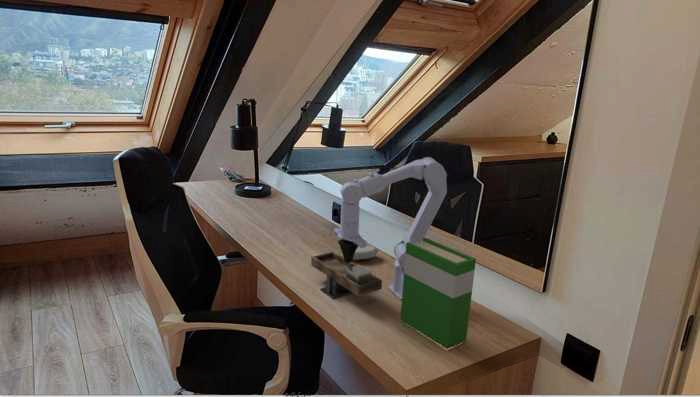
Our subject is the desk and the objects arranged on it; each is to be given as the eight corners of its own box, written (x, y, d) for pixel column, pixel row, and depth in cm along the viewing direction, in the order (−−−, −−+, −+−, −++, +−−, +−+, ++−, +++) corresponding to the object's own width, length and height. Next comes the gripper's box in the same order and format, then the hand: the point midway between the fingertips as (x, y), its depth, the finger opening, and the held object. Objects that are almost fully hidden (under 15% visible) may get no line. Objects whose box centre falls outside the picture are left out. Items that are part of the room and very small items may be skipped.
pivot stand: (367, 288, 152) (368, 271, 150) (332, 299, 144) (333, 281, 142) (354, 280, 157) (355, 263, 156) (320, 290, 149) (320, 273, 147)
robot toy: (335, 252, 182) (352, 264, 169) (336, 241, 182) (352, 253, 168) (363, 249, 188) (381, 260, 174) (363, 238, 187) (381, 249, 173)
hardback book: (400, 321, 133) (406, 242, 126) (418, 313, 137) (425, 237, 131) (447, 351, 119) (456, 265, 113) (465, 342, 124) (475, 258, 117)
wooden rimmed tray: (381, 288, 142) (382, 280, 141) (358, 296, 137) (359, 287, 136) (333, 259, 162) (333, 251, 161) (311, 265, 156) (311, 256, 156)
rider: (369, 286, 143) (373, 273, 141) (357, 290, 140) (360, 277, 138) (357, 274, 148) (360, 261, 145) (344, 278, 145) (347, 264, 143)
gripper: (325, 216, 146) (324, 256, 150) (353, 230, 135) (352, 272, 139) (343, 213, 150) (342, 252, 154) (372, 226, 139) (370, 267, 143)
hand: (348, 261), depth 147 cm, fingers closed
